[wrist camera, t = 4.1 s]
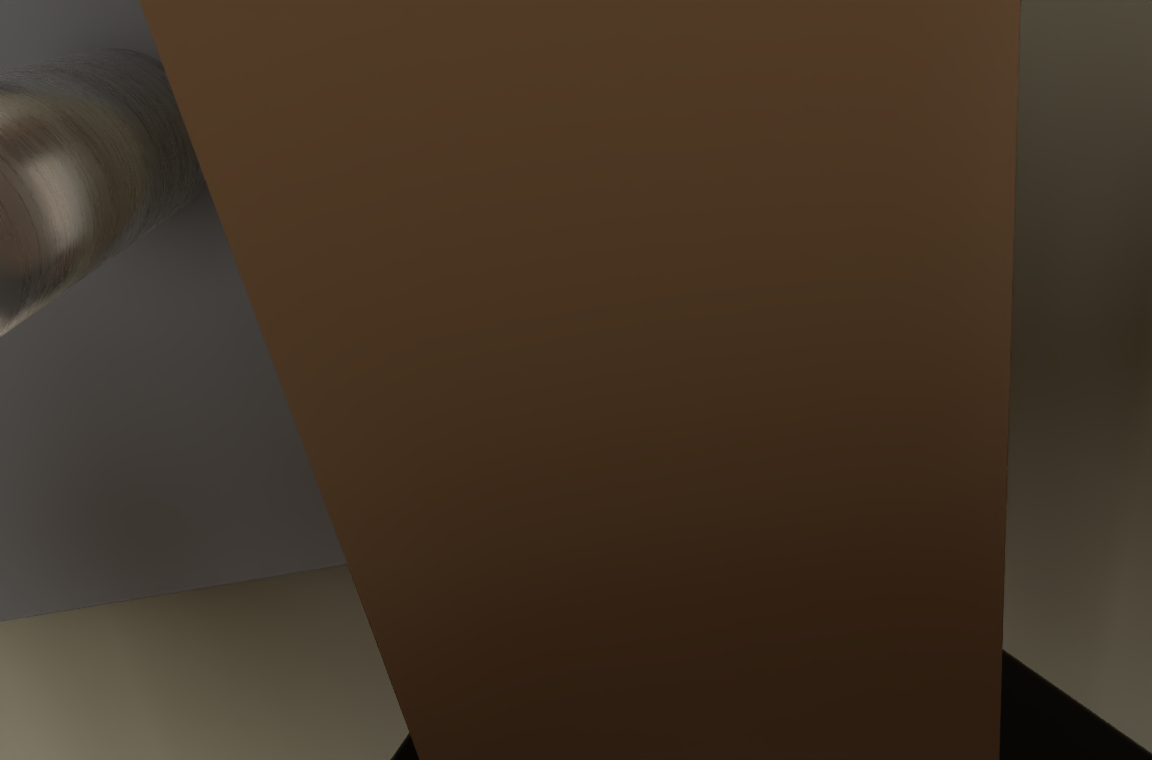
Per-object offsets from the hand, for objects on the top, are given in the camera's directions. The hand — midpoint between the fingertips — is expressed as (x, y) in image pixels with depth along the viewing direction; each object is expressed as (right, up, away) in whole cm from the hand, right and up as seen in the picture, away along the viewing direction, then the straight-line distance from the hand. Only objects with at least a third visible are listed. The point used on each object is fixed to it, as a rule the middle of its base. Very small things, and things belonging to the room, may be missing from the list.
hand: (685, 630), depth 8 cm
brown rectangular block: (-1, +4, +1) cm, 4 cm away
